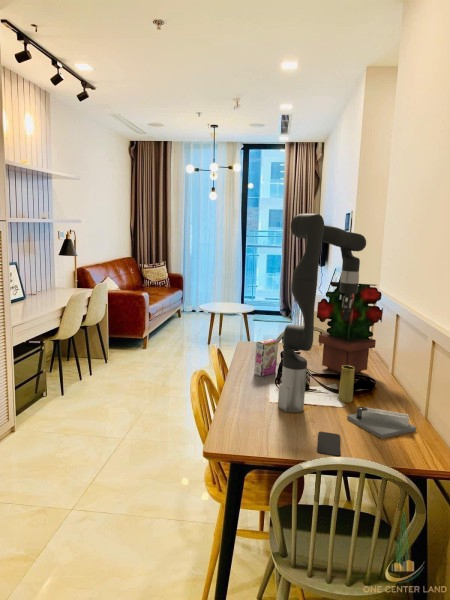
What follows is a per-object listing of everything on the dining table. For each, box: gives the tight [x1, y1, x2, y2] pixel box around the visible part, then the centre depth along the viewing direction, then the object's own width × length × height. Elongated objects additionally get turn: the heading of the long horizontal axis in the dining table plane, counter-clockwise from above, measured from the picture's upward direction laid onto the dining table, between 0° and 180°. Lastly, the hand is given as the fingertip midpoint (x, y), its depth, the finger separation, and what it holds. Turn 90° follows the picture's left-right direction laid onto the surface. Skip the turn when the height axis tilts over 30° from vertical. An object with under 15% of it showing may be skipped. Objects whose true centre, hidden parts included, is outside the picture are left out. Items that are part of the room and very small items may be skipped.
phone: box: [316, 431, 342, 457], centre depth 146 cm, size 7×1×15 cm
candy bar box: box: [253, 338, 279, 378], centre depth 213 cm, size 11×5×16 cm, turn 134°
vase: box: [337, 365, 355, 403], centre depth 185 cm, size 6×6×14 cm
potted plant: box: [316, 281, 384, 375], centre depth 221 cm, size 22×22×45 cm
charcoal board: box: [346, 408, 417, 439], centre depth 163 cm, size 17×17×2 cm
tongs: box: [355, 406, 410, 428], centre depth 162 cm, size 18×4×4 cm, turn 71°
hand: (346, 318), depth 191 cm, fingers open, 8 cm apart
